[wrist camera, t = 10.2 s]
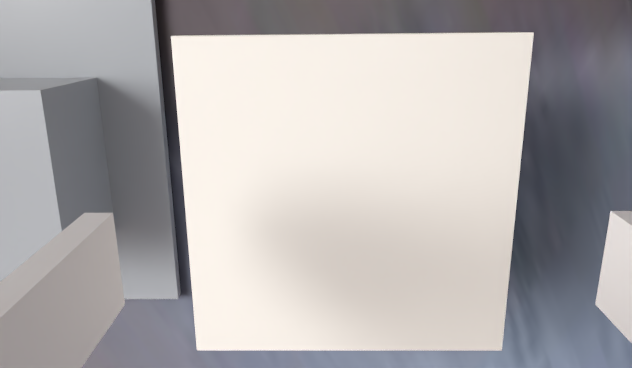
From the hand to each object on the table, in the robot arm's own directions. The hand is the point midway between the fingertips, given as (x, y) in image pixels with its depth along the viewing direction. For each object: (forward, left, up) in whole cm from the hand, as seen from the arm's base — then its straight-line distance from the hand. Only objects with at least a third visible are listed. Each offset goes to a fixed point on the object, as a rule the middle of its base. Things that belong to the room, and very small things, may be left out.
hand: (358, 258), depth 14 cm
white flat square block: (0, 0, -7) cm, 7 cm away
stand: (0, -16, -14) cm, 21 cm away
